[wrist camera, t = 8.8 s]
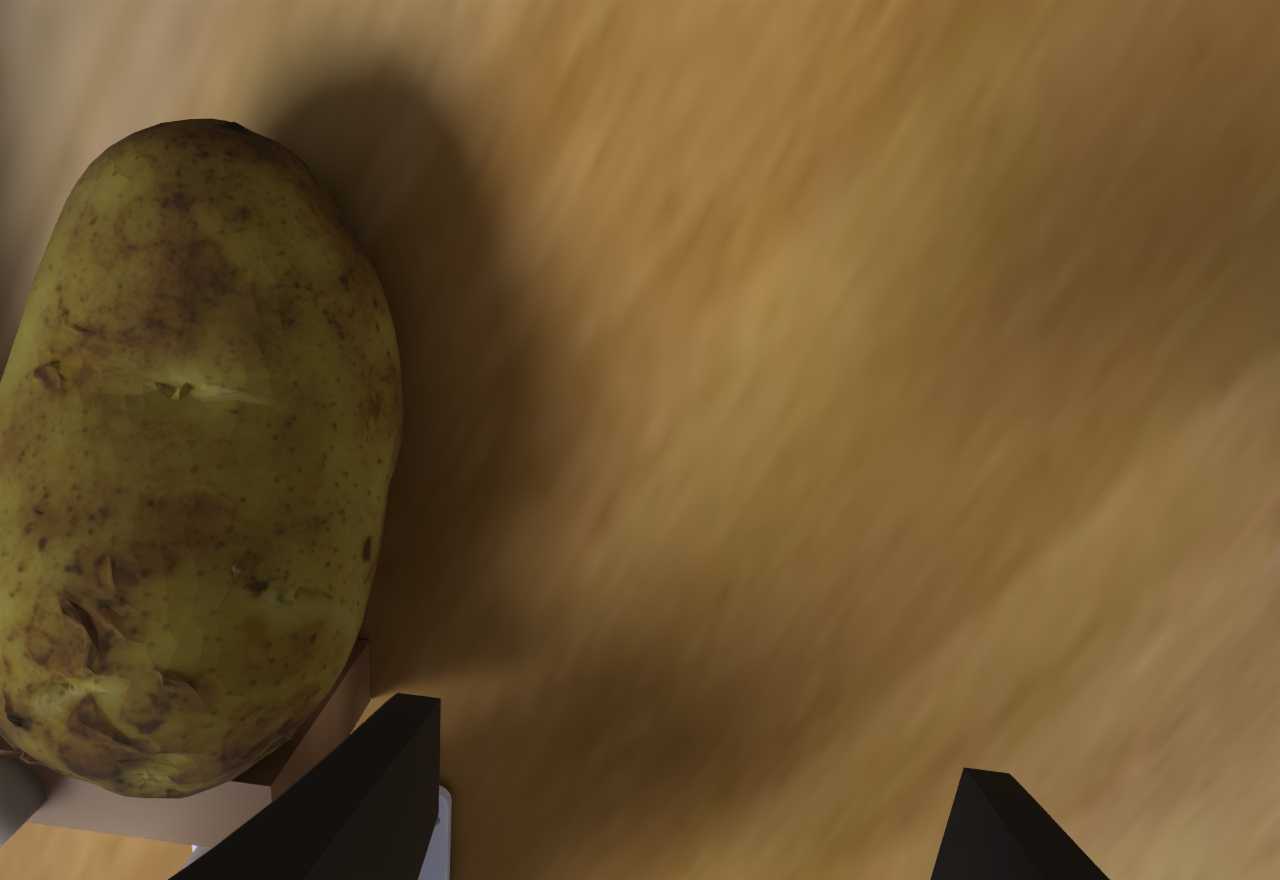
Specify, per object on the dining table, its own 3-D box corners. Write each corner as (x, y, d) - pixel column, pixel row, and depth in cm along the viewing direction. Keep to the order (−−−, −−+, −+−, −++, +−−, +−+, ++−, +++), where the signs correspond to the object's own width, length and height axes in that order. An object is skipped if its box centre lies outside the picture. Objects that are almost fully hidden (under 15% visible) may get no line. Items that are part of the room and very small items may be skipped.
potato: (549, 250, 19) (434, 320, 11) (371, 669, 23) (204, 922, 15) (207, 82, 18) (-158, 35, 10) (92, 545, 22) (-222, 745, 15)
